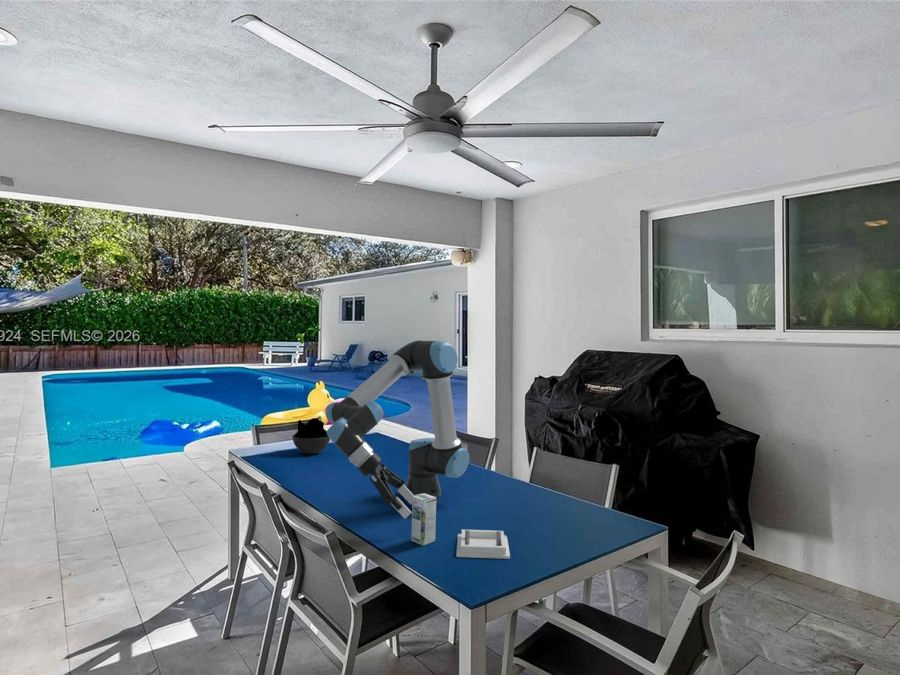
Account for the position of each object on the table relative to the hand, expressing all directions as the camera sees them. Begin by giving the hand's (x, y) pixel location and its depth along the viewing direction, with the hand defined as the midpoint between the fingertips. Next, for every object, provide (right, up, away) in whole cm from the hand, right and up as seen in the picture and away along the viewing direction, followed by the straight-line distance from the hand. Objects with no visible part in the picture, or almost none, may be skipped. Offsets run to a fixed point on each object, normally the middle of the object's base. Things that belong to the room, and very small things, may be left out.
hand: (411, 508), depth 169 cm
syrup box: (+4, -11, +1) cm, 12 cm away
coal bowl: (-63, -9, +118) cm, 134 cm away
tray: (+23, -11, -3) cm, 25 cm away
